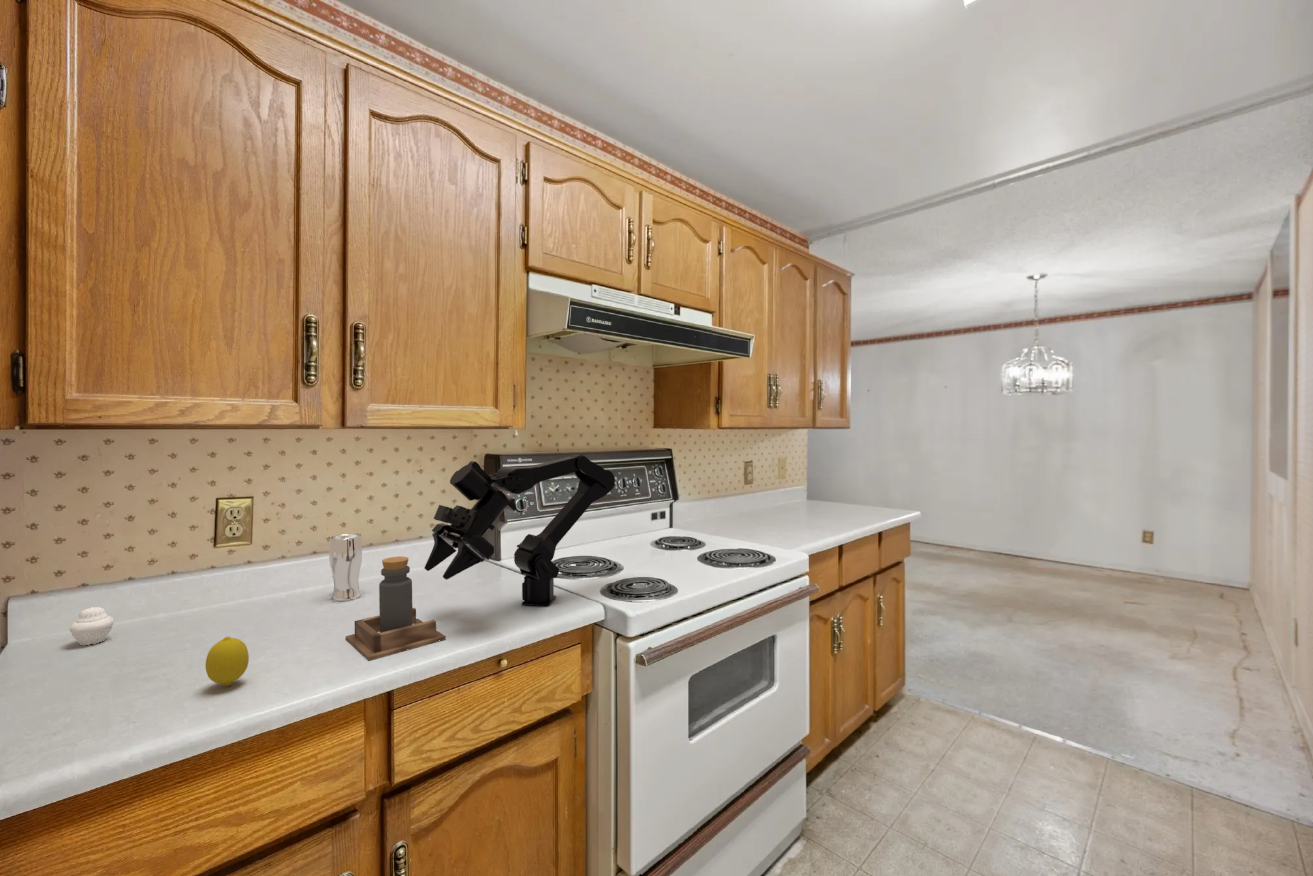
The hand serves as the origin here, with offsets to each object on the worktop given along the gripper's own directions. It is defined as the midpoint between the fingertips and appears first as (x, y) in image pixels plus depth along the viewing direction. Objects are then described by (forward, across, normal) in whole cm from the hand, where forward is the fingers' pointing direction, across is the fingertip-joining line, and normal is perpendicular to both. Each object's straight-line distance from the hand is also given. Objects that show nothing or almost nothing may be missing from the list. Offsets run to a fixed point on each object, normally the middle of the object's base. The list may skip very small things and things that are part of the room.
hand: (435, 574), depth 115 cm
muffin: (+44, -40, -28) cm, 66 cm away
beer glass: (+13, -36, +3) cm, 39 cm away
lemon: (+32, +1, -16) cm, 36 cm away
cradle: (+14, 0, +2) cm, 14 cm away
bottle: (+13, 0, +2) cm, 13 cm away
